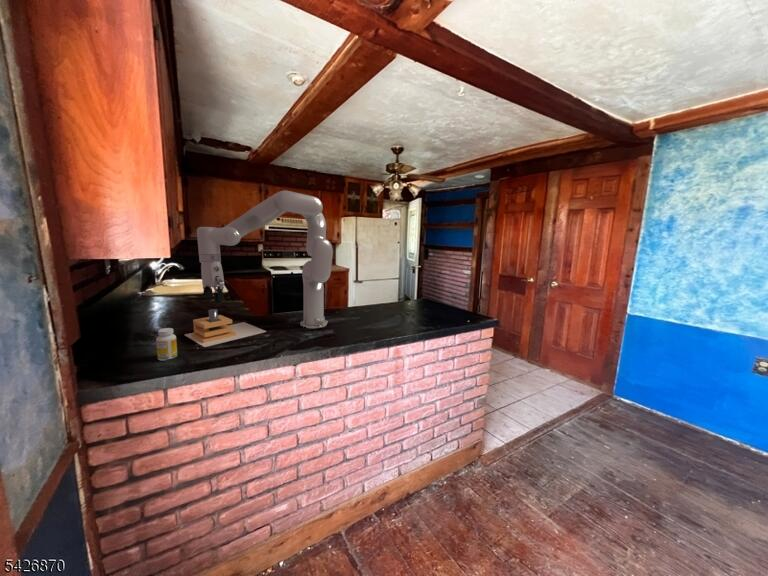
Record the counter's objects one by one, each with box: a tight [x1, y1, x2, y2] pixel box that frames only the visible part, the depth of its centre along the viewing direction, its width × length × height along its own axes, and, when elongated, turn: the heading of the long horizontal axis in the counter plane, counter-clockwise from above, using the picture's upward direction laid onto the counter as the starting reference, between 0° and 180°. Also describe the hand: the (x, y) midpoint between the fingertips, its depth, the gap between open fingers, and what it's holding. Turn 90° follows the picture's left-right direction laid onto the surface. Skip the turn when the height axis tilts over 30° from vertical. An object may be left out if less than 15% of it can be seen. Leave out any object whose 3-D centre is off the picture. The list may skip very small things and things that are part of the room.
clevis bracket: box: [190, 314, 236, 343], centre depth 129 cm, size 12×13×7 cm
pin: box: [208, 308, 219, 331], centre depth 129 cm, size 3×3×10 cm
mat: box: [184, 321, 267, 348], centre depth 134 cm, size 20×26×1 cm
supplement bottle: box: [155, 327, 178, 362], centre depth 107 cm, size 6×6×10 cm
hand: (213, 299), depth 127 cm, fingers open, 9 cm apart
